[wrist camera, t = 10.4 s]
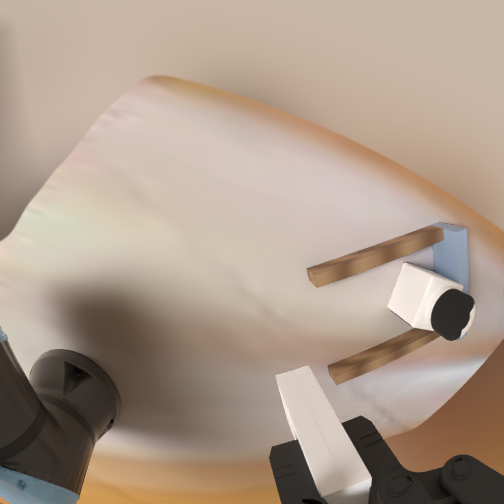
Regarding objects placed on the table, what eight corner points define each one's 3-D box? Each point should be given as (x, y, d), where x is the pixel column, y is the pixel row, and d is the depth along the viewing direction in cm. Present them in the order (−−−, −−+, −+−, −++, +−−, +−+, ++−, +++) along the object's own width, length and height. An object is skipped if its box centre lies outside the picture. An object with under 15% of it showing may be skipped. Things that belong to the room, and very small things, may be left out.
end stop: (436, 325, 44) (457, 340, 38) (430, 225, 39) (457, 232, 34) (444, 320, 44) (466, 335, 38) (439, 222, 40) (466, 228, 34)
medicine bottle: (385, 307, 41) (433, 345, 30) (402, 260, 40) (458, 287, 28) (418, 314, 43) (466, 349, 31) (435, 272, 41) (488, 297, 30)
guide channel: (329, 373, 42) (336, 385, 40) (306, 268, 38) (314, 275, 35) (436, 325, 44) (446, 332, 41) (430, 225, 39) (443, 228, 36)
